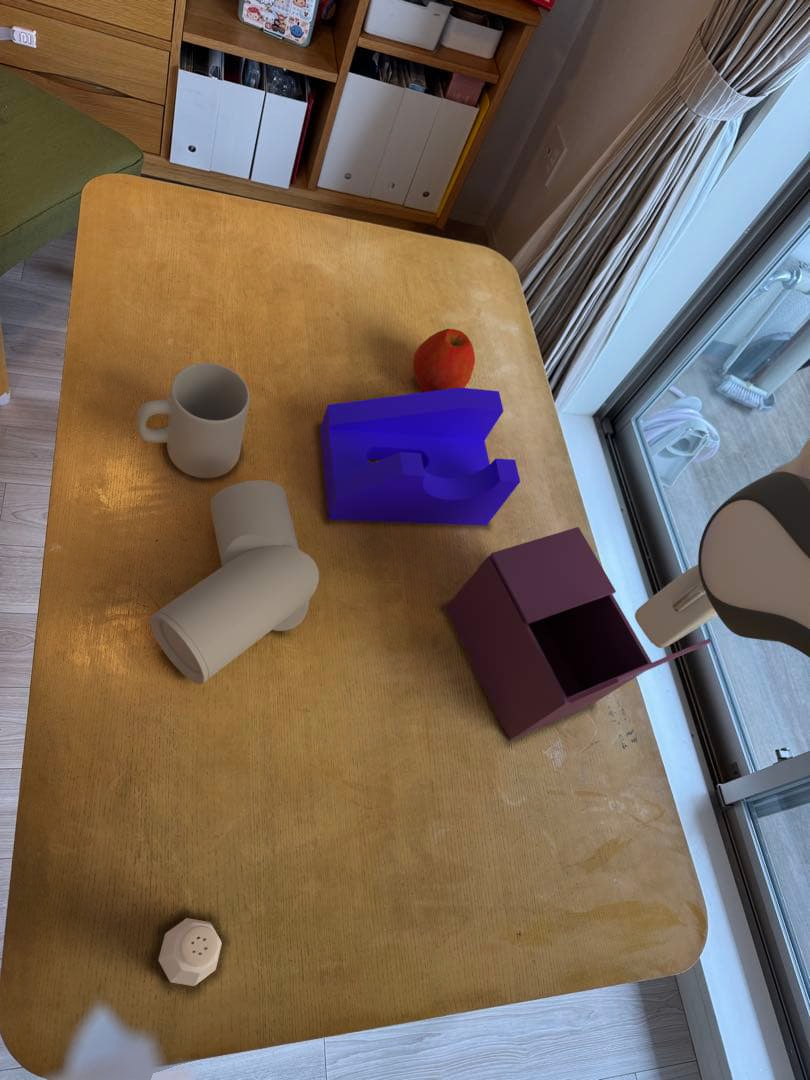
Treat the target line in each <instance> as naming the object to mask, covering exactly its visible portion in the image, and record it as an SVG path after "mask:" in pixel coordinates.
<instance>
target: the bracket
mask: <svg viewBox="0 0 810 1080" xmlns="http://www.w3.org/2000/svg"><path fill="white" fill-rule="evenodd" d="M503 413H504V406H503V403H502V399H501V395H500V391H499V390H492V389H491V390H490V389H481V388H480V389H479V388H468V387H465V388H453V389H445V390H438V391H430V392H424V391H423V392H415V393H409V394H401V395H393V396H385V397H379V398H378V397H376V398H370V399H361V400H354V401H347V402H339V403H332V404H327V406H326V409H325V412H324V415H323V417H322V421H321V424H320V427H319V435H320V444H321V455H322V464H323V465H322V466H323V475H324V486H325V496H326V506H327V517H328V520H329V521H350V522H351V521H357V522H381V523H382V522H383V523H407V524H410V523H411V524H434V525H435V524H436V525H460V526H461V525H463V526H488V525H489V524H490V522H491V521H492V519H493V518H494V517H495V516H496V514H497V512H499V511H500V509H501V508H502V506H503V505H504V504H505V502H506V501H507V500H508V499H509V497H510V496H511V495H512V494H513V492H514V490H516V488H517V487H518V486H519V485H520V483H521V478H520V474H519V470H518V466H517V461H516V459H512V458H511V459H510V458H509V459H508V458H496V457H495V458H494V459H493V461H491V463H490V458H489V454H488V449H487V445H486V440H487V438H488V437H489V435H490V433H491V431H492V430H493V428H494V427H495V425H496V424H497V422H498V420H499V419H500V417H501V416H502V414H503ZM369 460H376V461H374V462H370V461H369Z"/></svg>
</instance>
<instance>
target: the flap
mask: <svg viewBox="0 0 810 1080" xmlns="http://www.w3.org/2000/svg"><path fill="white" fill-rule="evenodd" d="M711 643H712V640H711V638H707V639H704V640H702V641H700V642H697V643H695V644H693V645H690V646H688V647H686V648H683V649H681V650H679V651H677V652H674V653H671V654H669V655H667V656H664V657H662V658H660V659H657V660H655V661H653V662H652V663H650V664H648V665H646V666H643V667H641V668H639V669H636V670H634V671H632V672H629V673H627V674H625V675H622V676H620V677H617V678H615V679H613V680H611V681H609V682H606V683H604V684H602V685H600V686H598V687H595V688H593V689H591V690H589V691H586V692H584V693H582V694H580V695H578V696H575V697H573V698H571V699H569V702H570V703H573V702H575V701H577V700H580V699H582V698H584V697H587V696H589V695H591V694H594V693H596V692H598V691H601V690H603V689H605V688H608V687H610V686H612V685H615V684H617V683H619V682H621V681H624V680H626V679H628V678H631V677H633V676H635V675H638V674H640V673H642V672H643V673H645V672H647V671H650V670H652V669H654V668H656V667H658V666H660V665H663V664H665V663H667V662H670V661H672V660H675V659H677V658H679V657H681V656H683V655H685V654H688V653H690V652H693V651H695V650H697V649H699V648H701V647H704V646H706V645H708V644H711ZM643 673H642V674H643ZM640 675H641V674H640Z"/></svg>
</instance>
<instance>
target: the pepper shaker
mask: <svg viewBox="0 0 810 1080" xmlns="http://www.w3.org/2000/svg"><path fill="white" fill-rule="evenodd" d="M222 943H223V942H222V940H221V938H220V937H219V935H218V933H217V932H216V930H215V928H214V926H213V924H212V923H211V922H210V921H206V920H202V919H201V920H199V919H194V918H189V917H186V918H184V920H182V921H180V922H179V923H178V924H177V925H175V926H173V927H172V928H170V929H169V930H168V931H167V932H165V934H164V937H163V941H162V944H161V948H160V952H159V956H158V958H157V959H158V960H157V961H158V962H159V964H160V966H161V968H162V970H163V972H164V974H165V976H166V977H167V979H168V981H169V983H173V984H179V985H185V986H191V987H196V985H198V984H199V983H201V982H202V981H203V980H205V979H206V978H207V977H208V976H210V975H211V974H213V972H215V971H216V970H217V967H218V962H219V958H220V953H221V949H222V945H223V944H222Z"/></svg>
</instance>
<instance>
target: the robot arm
mask: <svg viewBox="0 0 810 1080" xmlns="http://www.w3.org/2000/svg"><path fill="white" fill-rule="evenodd" d="M697 555H698V556H697V564H696V565H694V566H692V567H690V568H689V569H687V570H685V571H684V572H683V573H681V574H680V575H679V576H677V577H675V578H674V579H673V580H672V581H670V582H669V583H667V584H666V585H665V586H664V587H662V589H660V590H659V591H657V593H655V594H654V595H653V596H652V597H650V598H649V599H648V600H647V601H645V602H644V603H643V604H641V605H640V606H639V607H638V608H637V609H636V611H635V613H634V618H635V621H636V623H637V624H638V626H639V628H640V629H641V630H642V632H643V633H644V635H645V636H646V638H647V639H648V641H649V642H650V643H651V644H652V645H654V646H655V647H656V648H658V649H664V648H667V647H669V646H671V645H673V644H674V643H676V642H677V641H679V640H680V639H682V638H684V637H685V636H687V635H688V634H691V633H692V632H694V631H696V630H697V629H699V628H700V627H702V626H703V625H705V624H707V623H708V622H710V621H712V620H713V619H715V618H716V617H718V618H719V619H720V620H721V622H722V623H723V625H724V626H725V627H726V628H727V629H728V630H729V631H730V632H731V633H732V634H734V635H736V636H739V637H741V638H746V639H754V640H758V641H759V640H760V641H767V642H775V643H776V642H777V643H781V644H784V645H787V646H789V647H791V648H793V649H795V650H796V651H799V653H800V652H801V654H803V655H805V656H806V657H808V658H809V659H810V437H809V438H807V440H806V441H805V443H804V444H803V446H802V448H801V450H800V452H799V453H798V454H797V455H796V456H795V458H793V459H792V460H790V461H788V462H785V463H783V464H780V465H779V466H777V467H776V468H774V469H773V470H771V471H770V472H769V473H768V474H767V475H764V476H762V477H760V478H758V479H757V480H754V481H753V482H750V483H749V484H747V485H746V486H744V487H742V488H741V489H739V490H737V492H735V493H734V494H733V495H731V496H730V497H729V498H727V499H726V500H725V501H724V502H723V503H722V504H721V505H720V506H719V507H718V508H717V509H716V510H715V511H714V512H713V514H712V515H711V516H710V518H709V520H708V521H707V523H706V525H705V527H704V530H703V531H702V534H701V538H700V542H699V546H698V554H697Z"/></svg>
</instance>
